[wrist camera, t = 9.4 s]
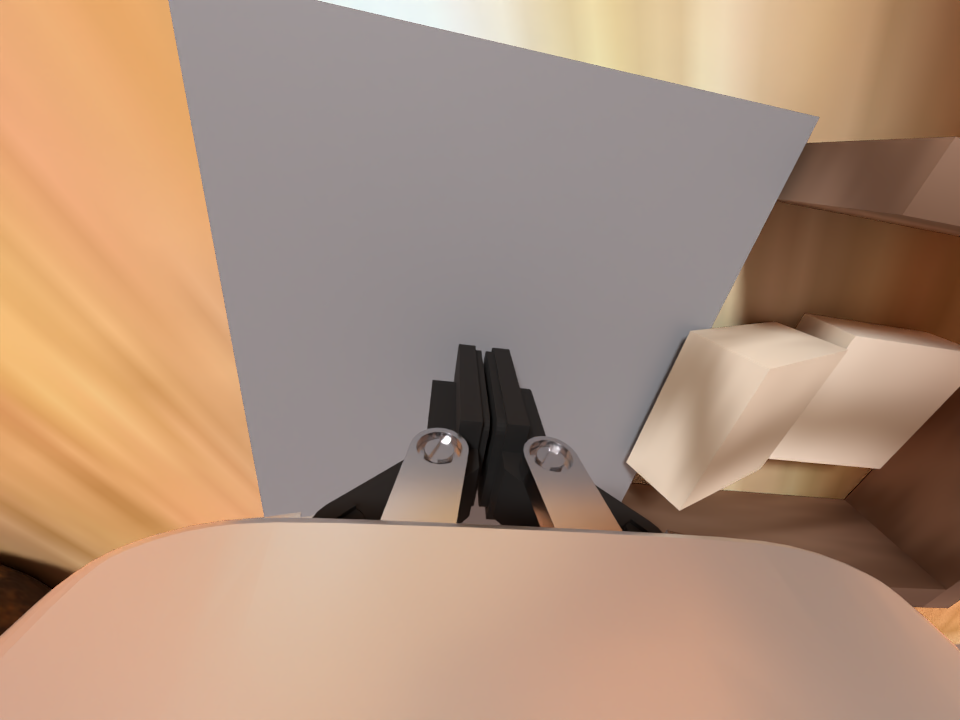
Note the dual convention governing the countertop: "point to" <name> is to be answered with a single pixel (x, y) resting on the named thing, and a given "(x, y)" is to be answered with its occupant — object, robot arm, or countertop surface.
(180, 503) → the countertop surface
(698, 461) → the cream tile
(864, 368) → the cream tile
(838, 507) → the box
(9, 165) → the countertop surface
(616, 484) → the slate plate
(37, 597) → the dark bulbous vase
